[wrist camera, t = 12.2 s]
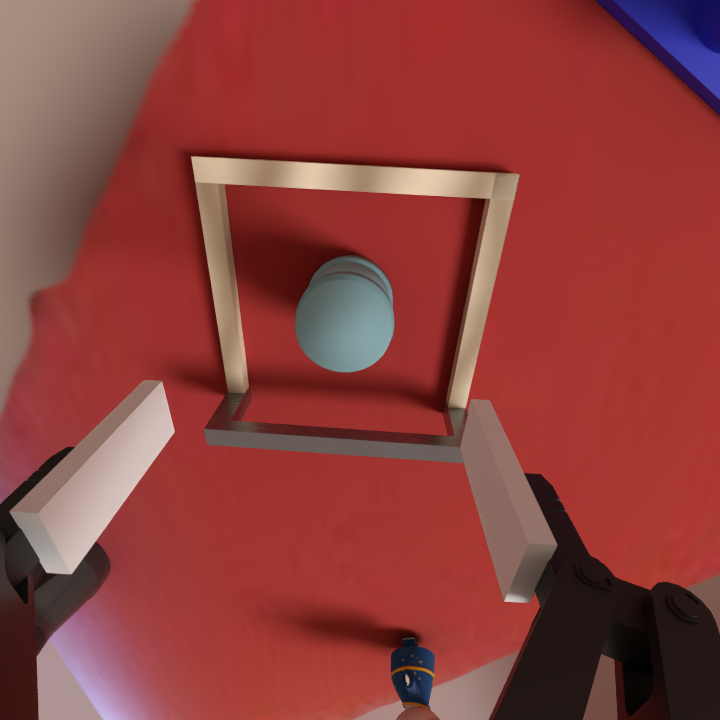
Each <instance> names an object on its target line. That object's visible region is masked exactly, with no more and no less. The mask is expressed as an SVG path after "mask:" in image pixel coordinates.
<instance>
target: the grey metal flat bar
mask: <svg viewBox="0 0 720 720" xmlns="http://www.w3.org/2000/svg"><path fill="white" fill-rule="evenodd" d="M250 402H251V394H250V386H249V387H248V389H247V391H246V392H245V393H231V392H227V394H226V396H225V397H224V399H223V400H222V402H221V403H220V405H219V406H218V408H217V410H216V411H215V413H214V414H213V416H212V417H211V419H210V421H209V422H208V424H207V425H206V427H205V428H204V431H205V436H206V441H207V445H218V446H232V447H246V448H260V449H274V450H288V451H302V452H316V453H329V454H343V455H357V456H371V457H385V458H399V459H413V460H426V461H440V462H454V463H464V461H463V458H462V455H461V451H460V446H461V442H462V437H463V433H464V429H465V424H466V420H467V416H468V414H467V411H466V408H465V409H463V408H449V407H448V405H447V401H446V399H445V404H444V410H443V417H444V421H445V426H446V430H447V434H448V436H441V435H427V434H413V433H398V432H384V431H370V430H356V429H342V428H328V427H313V426H299V425H285V424H271V423H257V422H242V421H241V419H242V417H243V415H244V413H245V411H246V409H247V408H248V406H249V404H250Z"/></svg>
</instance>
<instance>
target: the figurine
mask: <svg viewBox="0 0 720 720" xmlns="http://www.w3.org/2000/svg"><path fill="white" fill-rule="evenodd" d="M402 641H403V645H404V646H405V647H401V648H398V649H396V650H395V651H393V653H392V654H391V680H392V682H393V685H394V687H395V690H396V692H397V693H398V695H399V697H400V699H401V701H402V703H403V704H402V705H403V707H404V708H405V709H406V710H404V711H403V712H402V713H401V714H400V715H399V716H398V717H397V719H396V720H440V719H439V718H438V717H437V716H436V715H435V714H434V713H433V712H432V711H431V710H430V707H429V705H428V704H429V699H430V693H431V689H432V683H433V680H434V660H435V656H434V654H433V653H432V652H431V651H430V650H428V649H426V648H422V647H418V646H417V642H415V638H404V639H402Z"/></svg>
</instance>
